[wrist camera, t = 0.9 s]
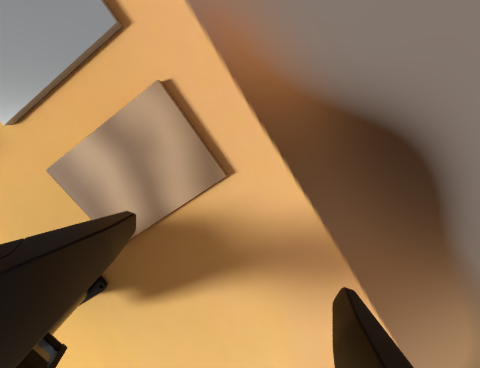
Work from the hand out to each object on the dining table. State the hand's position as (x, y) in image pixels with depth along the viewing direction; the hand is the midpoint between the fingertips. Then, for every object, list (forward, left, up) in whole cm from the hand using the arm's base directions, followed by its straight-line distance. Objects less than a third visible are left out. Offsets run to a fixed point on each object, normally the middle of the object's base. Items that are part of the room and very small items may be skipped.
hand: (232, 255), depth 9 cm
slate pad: (-8, +21, -13) cm, 26 cm away
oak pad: (-8, +6, -13) cm, 16 cm away
